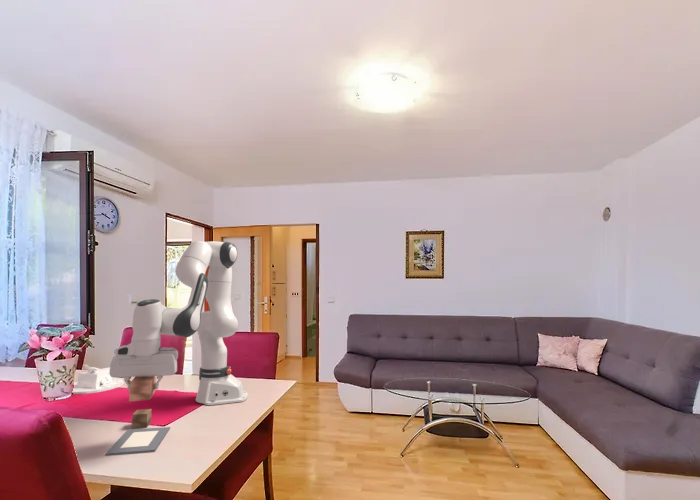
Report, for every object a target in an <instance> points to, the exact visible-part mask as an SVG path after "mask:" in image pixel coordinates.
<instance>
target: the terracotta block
mask: <svg viewBox="0 0 700 500" xmlns="http://www.w3.org/2000/svg"><path fill="white" fill-rule="evenodd" d="M130 381H131V382H130V390H129V395H128V396H129V398H128V402H140V401H149V400H151V399H152V398H153V395H154V394H155V392H156V389H153V384H154V383H156V382H157V376H139V377H133V379H132V380H130Z"/></svg>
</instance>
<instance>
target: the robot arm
mask: <svg viewBox="0 0 700 500" xmlns="http://www.w3.org/2000/svg"><path fill="white" fill-rule="evenodd" d="M237 259H238V249H237V247H236V245H235V244H234V243H232V242H229V241H217V240H215V241H214V240H213V241H212V240H211V241H203V240H194V241H192V242H191V243H190V244H189V245H188V246H187V248H186V249H185V251H184V252H183V254H182V255H181V256H180V258H179V260H178V262H177V264H176V266H175V275H176V278H178V279H177V280H179V282H181V284H183V285H185V286H187V287H189V288H191V291H190V295H189V298H188V302H187V305H186V306H185V307H182V308H175V307H174V308H172V307H168V306H165V305H163V304H162V302H161V300H159V299H154V298H153V299H143V300H140V301H139V302H137V303H136V304H135V307H134V309H133V316H132V324H131V328H132V331H133V332H132V335H131V341H130V343H127V344H124V345H121V346H118V347H117V348H115V349H114V351H113V353H114V355H115V356H114V357H112V359H111V362H110V366H109V367H110V373H109V374H110V376H111V377H113V378H124V379H123V380H124V382H125V384H126V386H127V391H130V382H131V381H132V380H131V379H132V378H135V377H139V376H156V383H154V384H153V389H155V390H158V389H159V387H160V382H161V381H162V379H163V378H164V376H165V377H166V376H168V377H169V376H174V375H175V374H176V373H177V372H178V361H177V360H178V358H179V350H178V349H177V348H175V347H173V346H170V347H161V341H162V338H161V337H162V336H161V335H164V336H165V335H166V336H178V337H183V338H190V337H192V336H193V335H194V334H195V333H196V332H197V334H198V338H199V343H200V350H201V351H200V352H201V353H200V355H201V359H200V368H199V373H198V379H199V383H198V384H199V385H198V389H197V393H196V398H195V399H194V400H195V402H196V403H199V404H203V405H205V406H216V405H223V404H225V405H226V404H233V403H241V402H244V401H246V400H247V399H248V397H249V394H248V392H247V391H246V390H244V387H243V383H242V381H241V380H240V379H238V378H237V377H235V376H234V375H233V374H232V368H231V366H228V365H227V363H228V348H227V346H226V344H225V342H224V339H223V338H229V337H231V336H233V335H235V334H236V332H237V331H238V329H239V321H238V319H237V317H236V316H235V314H234V313H235V312H234V310H233V306H232V285H233V265H234V264H235V262H236V261H237ZM208 267H209V268H208ZM207 269H208V270H207ZM207 271H208V272H207ZM206 272H207V274H206ZM205 300H206V302H207V303H208V308H209V310H206V311H202V310H203V307H204V303H205Z"/></svg>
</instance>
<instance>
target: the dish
mask: <svg viewBox="0 0 700 500" xmlns="http://www.w3.org/2000/svg"><path fill="white" fill-rule="evenodd" d="M83 366H84V367H83V368H85V369H86V370H87V371H83V372H82V371H81V372H78V373H77V378H76V379H77V380H76V381H74V388H73V391H72V393H73V394H72V395H86V394H93V393H100V392H101V393H102V392H106V391H110V390H114V389H117V388H119V387H121V386H123V385H124V384H125V383H124V382H125V381H124V379H123V378H121V377H111V376H110V374H109V373H110V366H109V367H103V368H100V367H94V366H89V365H88V364H83Z"/></svg>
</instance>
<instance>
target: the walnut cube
mask: <svg viewBox="0 0 700 500" xmlns="http://www.w3.org/2000/svg"><path fill="white" fill-rule="evenodd" d="M152 410H153V409H152V408H145V409H136V411H134V412H133V413H132V415H131V430H132V429H147V428H149V426H150V424H151V423H152Z"/></svg>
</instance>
